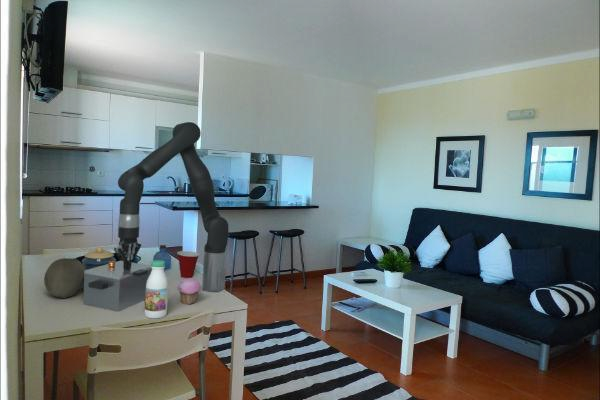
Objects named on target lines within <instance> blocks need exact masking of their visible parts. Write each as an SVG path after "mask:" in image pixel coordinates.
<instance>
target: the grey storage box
mask: <svg viewBox="0 0 600 400" xmlns="http://www.w3.org/2000/svg"><path fill="white" fill-rule="evenodd" d="M151 271H152V269H150V270H148V273H147V274H144V275H141V276H134V275H132V276H129V277H126V278H123V279H120V280H119V279H113V278H108V277H103V276H97V275H92V274H86V273H84V290H83V300H82V301H83V302H82V303H83V305H85V306H90V307H94V308H99V309H104V310H108V311H114V312H117V311H118V312H121V311H123V310H126V309H127V308H130V307H132V306H135V305H137V304H139V303H141V302H145V294H146V283H147V280H148V278H149V276H150V274H151Z"/></svg>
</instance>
